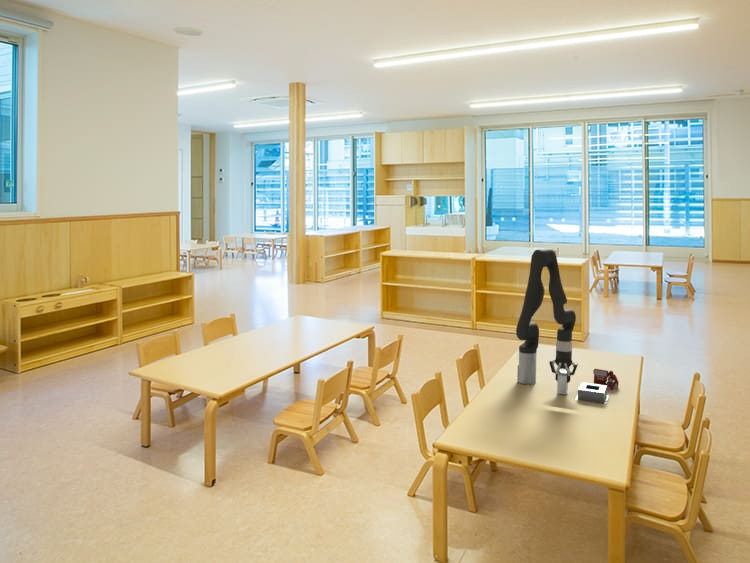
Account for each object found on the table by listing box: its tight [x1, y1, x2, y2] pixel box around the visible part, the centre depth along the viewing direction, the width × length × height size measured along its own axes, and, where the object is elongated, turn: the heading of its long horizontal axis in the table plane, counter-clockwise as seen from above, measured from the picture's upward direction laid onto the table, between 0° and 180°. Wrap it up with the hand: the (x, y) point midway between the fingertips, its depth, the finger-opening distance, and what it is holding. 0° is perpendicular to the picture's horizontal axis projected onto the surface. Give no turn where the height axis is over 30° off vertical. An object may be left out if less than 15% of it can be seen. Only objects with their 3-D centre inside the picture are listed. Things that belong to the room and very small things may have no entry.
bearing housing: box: [575, 381, 610, 405], centre depth 277 cm, size 14×14×6 cm
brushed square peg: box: [556, 369, 569, 396], centre depth 282 cm, size 4×4×11 cm
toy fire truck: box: [592, 368, 620, 391], centre depth 292 cm, size 7×12×10 cm, turn 55°
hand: (562, 381), depth 282 cm, fingers closed on brushed square peg, 4 cm apart
